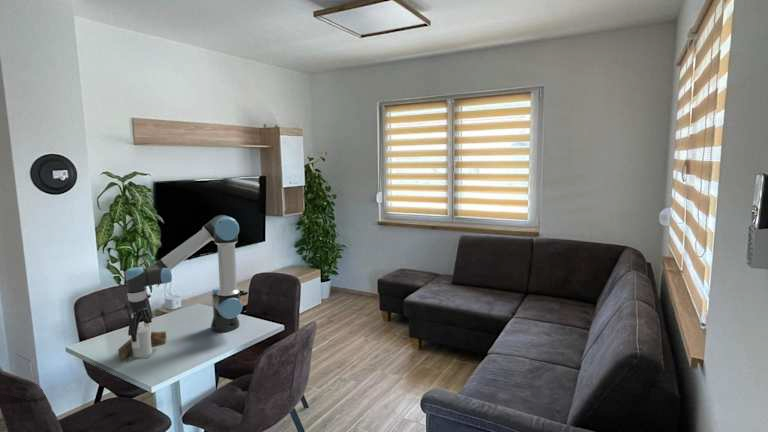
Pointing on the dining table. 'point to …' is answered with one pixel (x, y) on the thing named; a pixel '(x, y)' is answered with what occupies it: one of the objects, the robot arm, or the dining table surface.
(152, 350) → the pad
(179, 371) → the dining table surface
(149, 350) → the cup
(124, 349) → the brown wooden l-shaped wall
